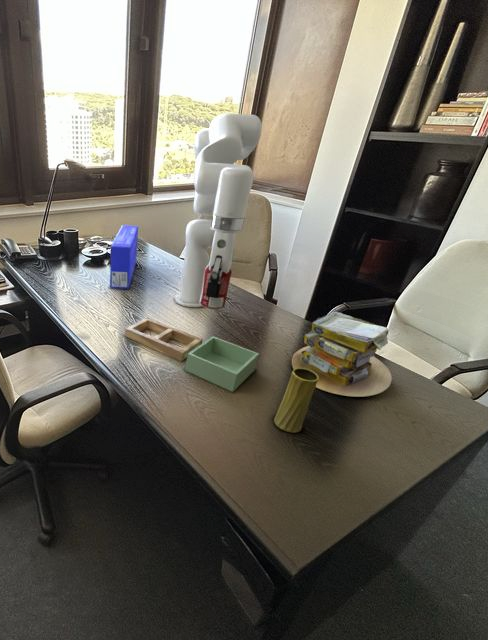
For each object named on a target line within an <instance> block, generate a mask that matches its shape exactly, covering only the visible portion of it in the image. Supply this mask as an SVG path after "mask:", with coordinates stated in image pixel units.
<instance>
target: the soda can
mask: <svg viewBox="0 0 488 640" xmlns="http://www.w3.org/2000/svg"><path fill="white" fill-rule="evenodd" d="M209 263H210V261H209ZM211 267H212V266H211ZM219 271H221V269H219ZM232 272H233V271H232V269H231V268H230V270H229V272H228V273H225V272H223V273H222V277H221V281H220V283H221V287H220V292H219V297H218V298H212V297H207V296H206V292H207V286H208V281H209V279H210V274H211V271H210V270H209V265H208V266H207V267H206V268H205V273H204V278H203V284H202V290H201V296H200V302H199V303H200V305H202V307H203V308H204V309H207V310H210V311H217V310H220V309H223V308H225V305H226V301H227V297H228V291H229V287H230V282H231V277H232ZM218 275H220V274H218Z"/></svg>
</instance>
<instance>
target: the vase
mask: <svg viewBox="0 0 488 640" xmlns="http://www.w3.org/2000/svg"><path fill="white" fill-rule="evenodd" d="M318 379H319V377H318V375H317V374H316V373H315V372H314V371H312V370H309V369H306V368H295V369H293V370H292V371H291V374H290V377H289V380H288V383H287V386H286V389H285V392H284V394H283V396H282V400H281V402H280V404H279V406H278V409H277V411H276V414H275V416H274V418H273V423H274V424H275V426H276V427H278V429H280V430H282V431H284V432H287V433H291V434H294V433H295V434H296V433H299V432H300V431H301V430H302V429H303V423H304V422H305V418H306V416H307V412H308V409H309V406H310V403H311V400H312V397H313V394H314V392H315V389H316V388H317V387H316V384H317V382H318Z"/></svg>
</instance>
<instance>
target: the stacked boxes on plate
mask: <svg viewBox="0 0 488 640" xmlns="http://www.w3.org/2000/svg"><path fill="white" fill-rule="evenodd" d="M389 331H390V330H389V329H388V327H386V326H382V325H377V324H374V323H370V322H369V321H366V320H363V319H361V318H357V317H353V316H351V315H347V314H344V313H342V312H339V311H333V312H331V313H330V314H329V313H328V314H327V315H324V316H322V317H317V319H316V320H314V321H312V324H311V331H309V332H307V333H305V334H304V340H303V341H304V342H303V344H305V345H306V346H304V347H302V348H299V349H298V350H296V351H295V353H293V355H292V357H291V366H292V369H293V370H294V369H295V368H306V369H309V370H312V371H314V372H315V373H316V374H317V375H318V377H319V379H318V382H317V384H316V387H315V388H317V389H319V390H321V391H324V392H328V393H331V394H335V395H338V396H339V395H340V396H346V397H354V398H355V397H356V398H357V397H358V398H359V397H370V396H374V395H375V396H376V395H378V394H381V393H383V392H384V391H386V390H387V389H388V388H390V385H391V383H392V381H393V380H392V379H393V378H392V373H391V371H390V370H389V368H388V367H387V366H386V365H385V364H384V362H382V361H381V360H380V359H378V358H376V357H375V356H376V352H377V350H379V351H381V350H382V348H383V347H385V346H387V344H389V341H388V340H389V339H388V335H389Z"/></svg>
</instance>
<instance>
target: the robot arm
mask: <svg viewBox="0 0 488 640" xmlns="http://www.w3.org/2000/svg"><path fill="white" fill-rule="evenodd" d="M262 128H263V126H262V121H261V119H260V117H259V116H258V115H256V114H246V113H221V114H219V115H217V116H215V117H214V118H213V120H211V123H210V124H209V128H203V129H200V130H199V131H198V132H197V133H196V134H195V137H194V145H193V147H194V148H193V150H194V159H195V163H194V168H193V186H194V197H193V212H194V213H195V214H196V215H198V216H205V217H211V219H203V218H202V219H198V218H197V219H193V220H190V221H189V222H188V224H187V225H186V227H185V250H184V259H183V265H182V266H183V267H182V274H181V280H180V288H179V293H177V294H176V295H174V296H175V297H174V301H175V303H177V304H179V305H180V306H183V307H187V308H202V307H203V306H202V305H200V303H199V302H200V296H201V290H202V284H203V278H204V273H205V268H206V267H207V266H208V265H209V270H210V271H211V274H210V279H209V281H208V286H207V292H206V296H207V297H212V298H218V297H219V292H220V287H221V283H220V281H221V277H222V273H223V272H225V273H228V272H229V270H230V269H231V267H232V264H233V259H234V253H235V248H236V244H237V237H238V234H240V233H242V232H243V227H244V224H245V218H246V214H247V209H248V204H249V200H250V194H251V190H252V188H253V184H254V178H255V174H254V172H253V170H252V168H251V167H250V166H249V165H246V164H240V163H239V164H236V162H238V161H241V160H245V159H247V158H248V157H249V155H251V153H252V152H253V151H254V150H255V149H256V147H257V146H258V144H259V142H260V140H261V137H262V132H263V129H262ZM207 248H209V249H211V251H210V255H209V253H208V252H207V250H206V249H207ZM209 261H210V263H209ZM211 266H212V267H211ZM219 269H221V271H219ZM218 274H220V275H218Z"/></svg>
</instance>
